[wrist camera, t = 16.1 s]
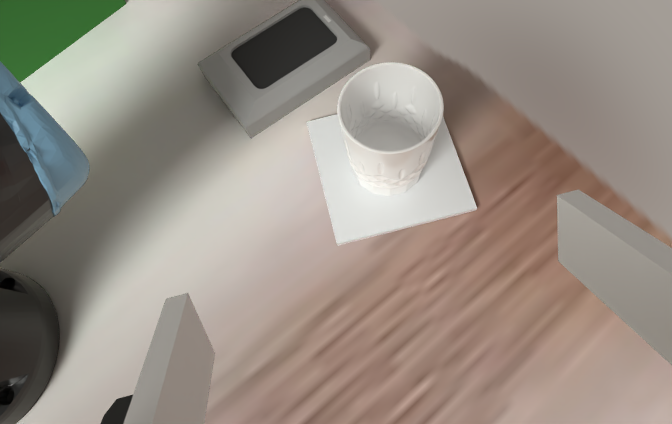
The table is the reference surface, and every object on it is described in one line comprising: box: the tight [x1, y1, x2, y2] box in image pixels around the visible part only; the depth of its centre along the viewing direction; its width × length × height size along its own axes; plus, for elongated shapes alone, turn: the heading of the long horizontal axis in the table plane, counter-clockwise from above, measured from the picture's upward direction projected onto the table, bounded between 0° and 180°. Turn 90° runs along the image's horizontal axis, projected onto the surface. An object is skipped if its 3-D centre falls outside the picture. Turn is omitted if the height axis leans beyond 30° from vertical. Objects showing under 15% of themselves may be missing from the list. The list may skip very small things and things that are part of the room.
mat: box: [307, 114, 477, 246], centre depth 44 cm, size 13×13×1 cm
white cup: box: [337, 62, 444, 196], centre depth 39 cm, size 8×8×10 cm
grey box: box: [198, 0, 370, 138], centre depth 48 cm, size 10×4×15 cm
